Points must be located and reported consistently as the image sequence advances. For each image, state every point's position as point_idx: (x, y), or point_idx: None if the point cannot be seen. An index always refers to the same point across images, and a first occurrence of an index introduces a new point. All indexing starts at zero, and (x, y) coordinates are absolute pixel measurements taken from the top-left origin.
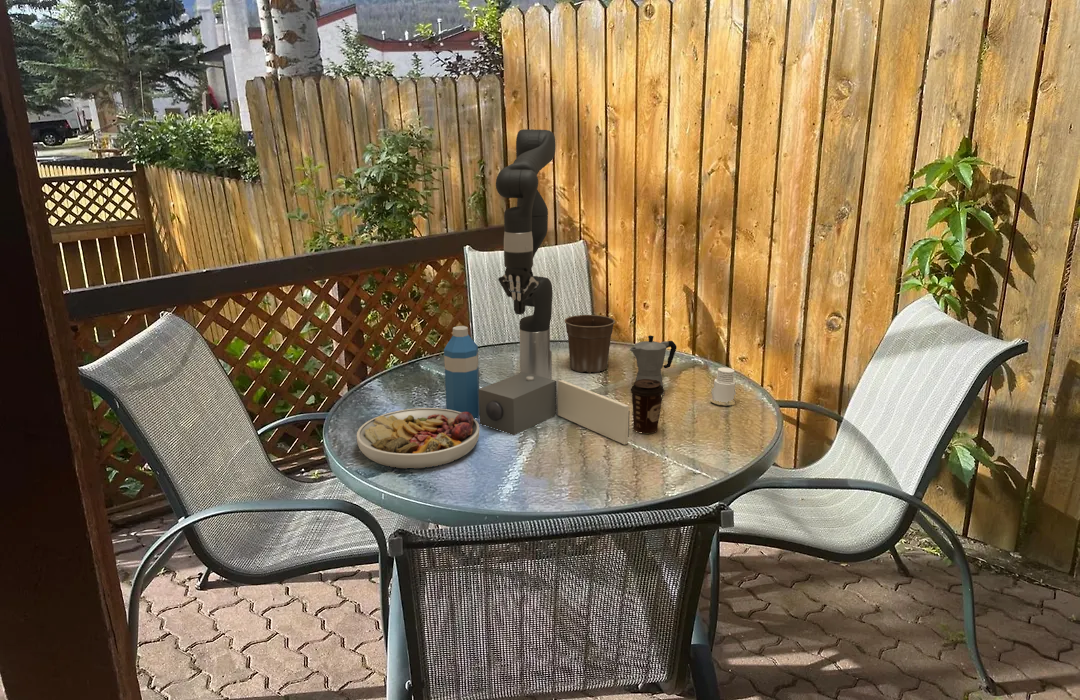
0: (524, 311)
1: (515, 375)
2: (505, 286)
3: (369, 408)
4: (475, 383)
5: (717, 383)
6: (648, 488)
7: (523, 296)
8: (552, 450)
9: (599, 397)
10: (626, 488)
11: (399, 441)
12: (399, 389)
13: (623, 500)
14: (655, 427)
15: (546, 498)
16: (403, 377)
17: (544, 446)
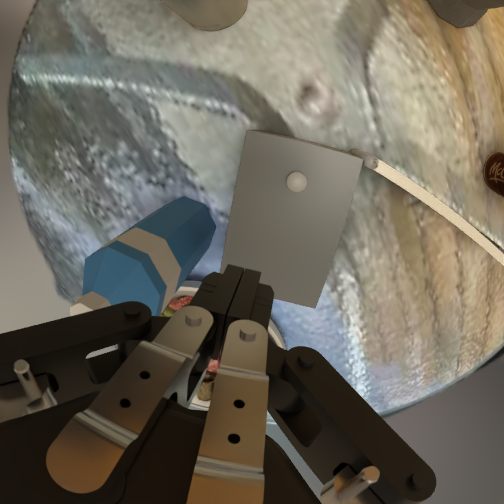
0: (269, 290)
1: (243, 162)
2: (82, 395)
3: (68, 257)
4: (191, 258)
5: None
6: (493, 335)
7: (277, 410)
8: (389, 297)
9: (476, 241)
10: (475, 345)
11: (206, 390)
12: (47, 175)
13: (470, 364)
14: None
15: (402, 390)
16: (27, 130)
17: (374, 290)
